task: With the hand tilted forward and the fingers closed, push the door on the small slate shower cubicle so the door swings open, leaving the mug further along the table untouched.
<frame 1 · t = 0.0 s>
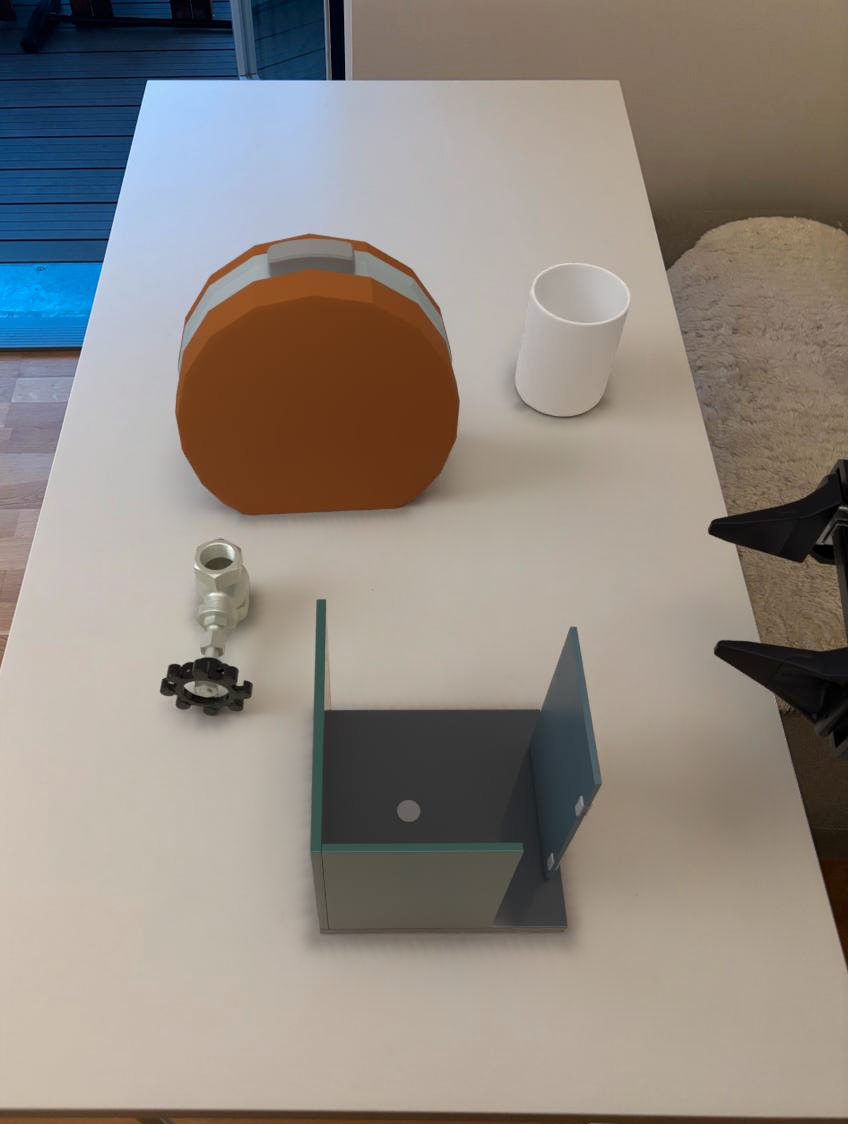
hand: (712, 584, 55), 16 cm above the table, tool horizontal, fingers open, 9 cm apart
shower stall: (436, 817, 64), on the table
valve: (222, 649, 72), on the table
mug: (553, 378, 89), on the table
alarm clock: (321, 471, 82), on the table
shower door: (570, 760, 57), point 9 cm above the table, hinge at 0.0°
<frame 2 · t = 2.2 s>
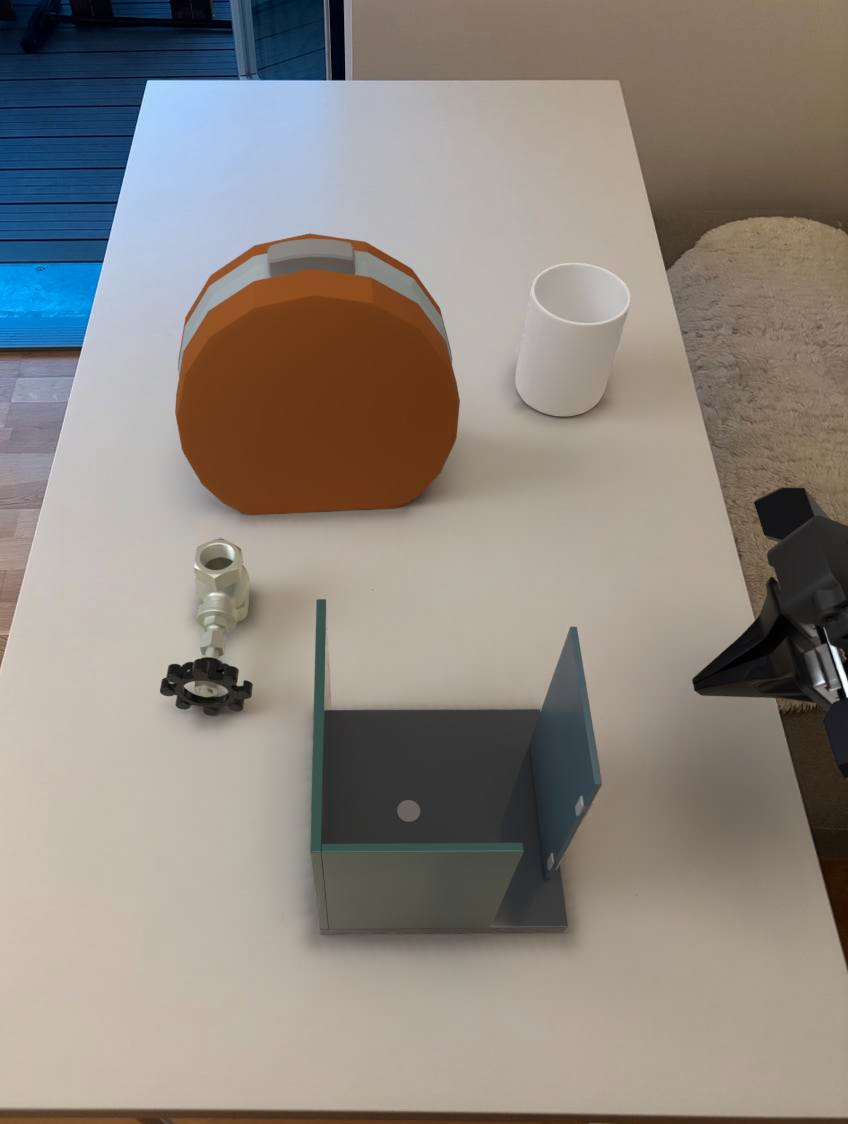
hand: (695, 687, 57), 11 cm above the table, tool tilted 45°, fingers closed
nothing on the table moved.
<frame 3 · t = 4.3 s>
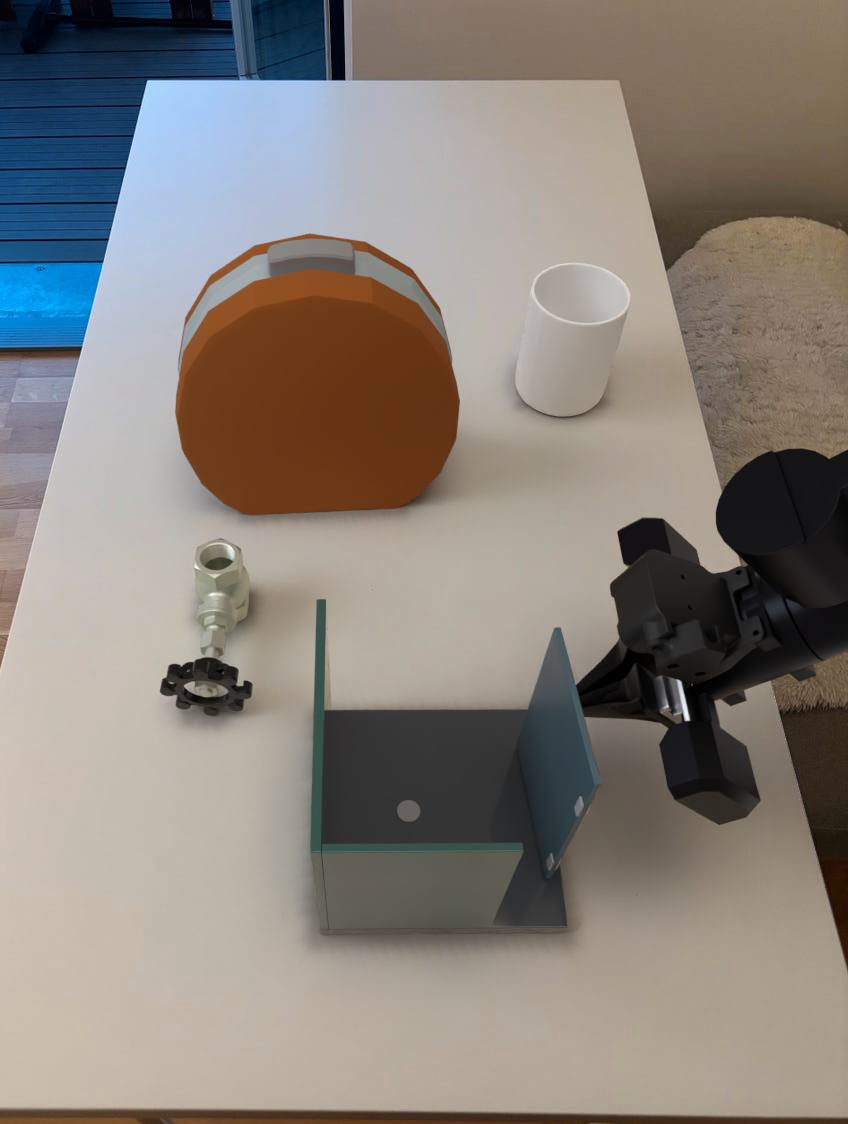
hand: (564, 708, 59), 8 cm above the table, tool tilted 45°, fingers closed, pressing on shower door
shower door: (562, 759, 57), point 9 cm above the table, hinge at 5.5°, touching gripper
everything else where it was.
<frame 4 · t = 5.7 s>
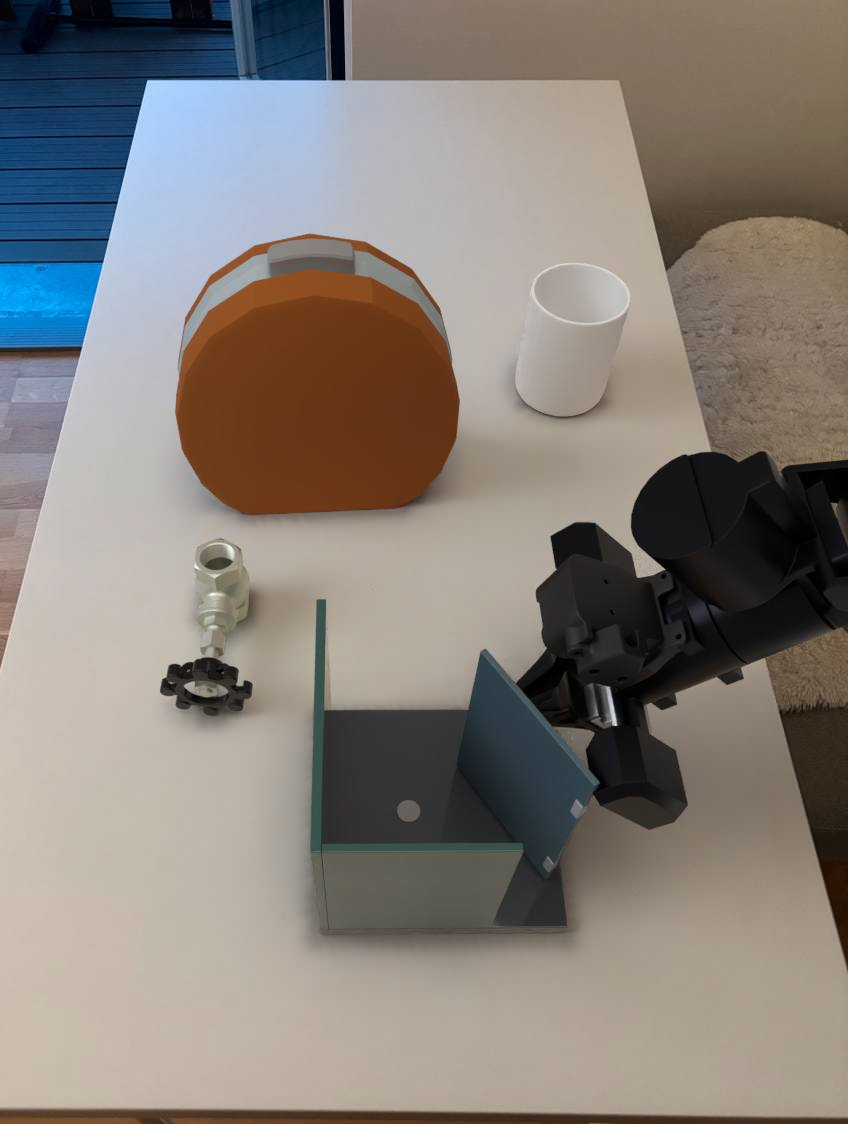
hand: (500, 714, 59), 8 cm above the table, tool tilted 45°, fingers closed
shower door: (525, 767, 56), point 9 cm above the table, hinge at 32.5°, touching gripper
everything else where it was.
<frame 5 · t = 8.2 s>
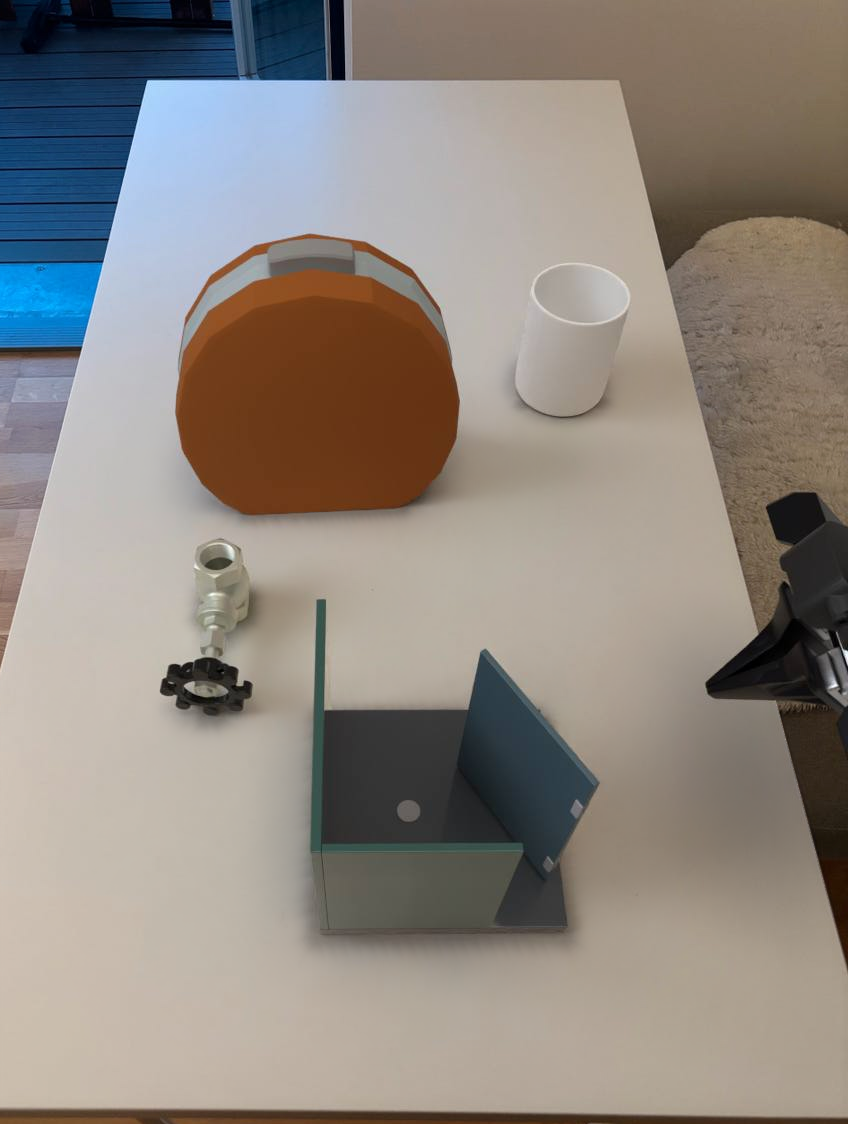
hand: (709, 691, 58), 11 cm above the table, tool tilted 45°, fingers closed
shower door: (525, 767, 56), point 9 cm above the table, hinge at 32.6°
everything else where it was.
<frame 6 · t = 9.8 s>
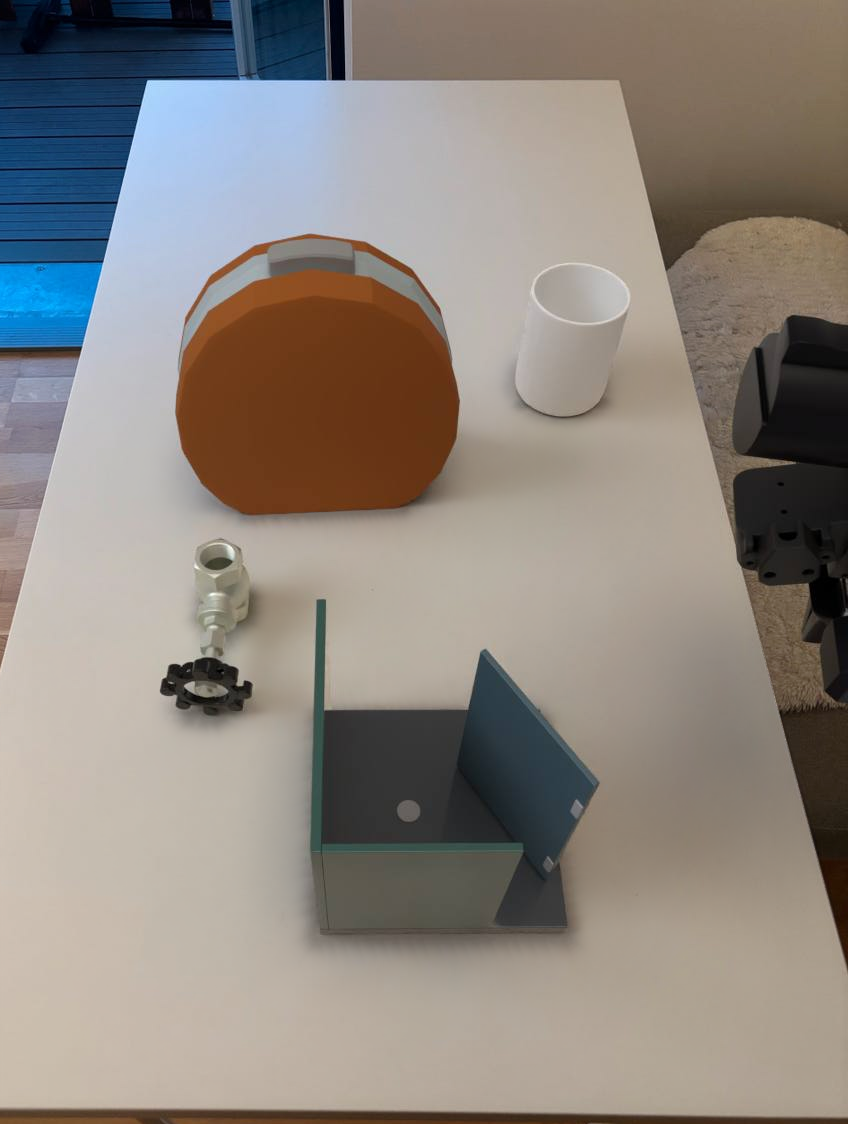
hand: (809, 638, 58), 12 cm above the table, tool pointing down, fingers closed
nothing on the table moved.
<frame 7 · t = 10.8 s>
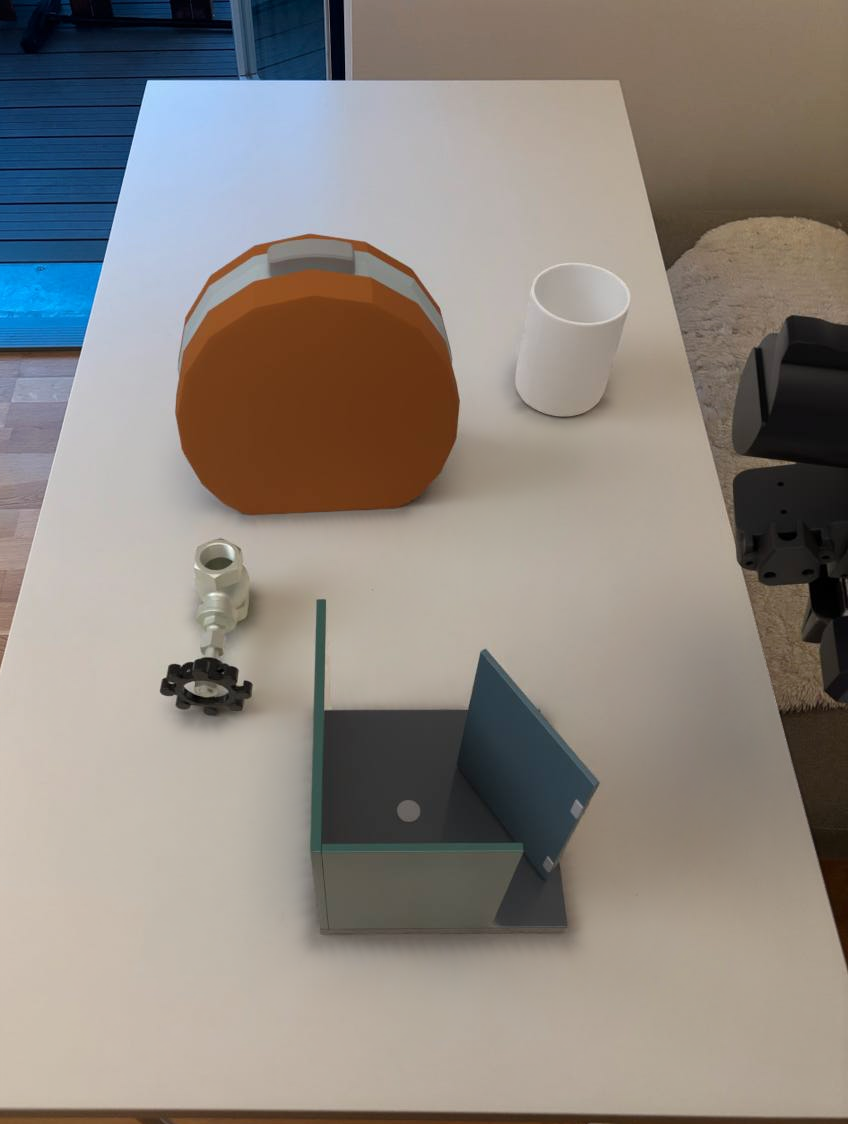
hand: (809, 638, 58), 12 cm above the table, tool pointing down, fingers closed
nothing on the table moved.
at the end: shower door at +33° (first picture: +0°); mug moved 0.2 cm from its start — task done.
